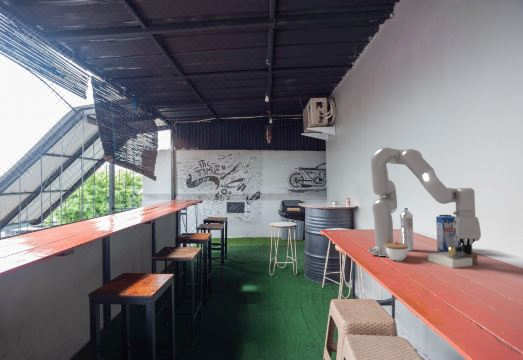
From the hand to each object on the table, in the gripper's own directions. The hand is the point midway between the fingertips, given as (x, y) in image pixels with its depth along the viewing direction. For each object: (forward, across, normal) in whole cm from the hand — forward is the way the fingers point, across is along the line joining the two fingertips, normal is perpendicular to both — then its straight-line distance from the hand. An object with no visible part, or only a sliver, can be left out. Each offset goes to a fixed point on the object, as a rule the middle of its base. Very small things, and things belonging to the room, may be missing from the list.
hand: (467, 252), depth 137 cm
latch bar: (+1, -2, +3) cm, 4 cm away
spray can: (+6, +10, +39) cm, 40 cm away
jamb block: (+6, +4, +6) cm, 10 cm away
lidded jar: (+6, -28, +12) cm, 31 cm away
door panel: (+6, -5, +6) cm, 10 cm away
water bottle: (+6, -14, +34) cm, 38 cm away
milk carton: (+6, +7, +30) cm, 31 cm away
